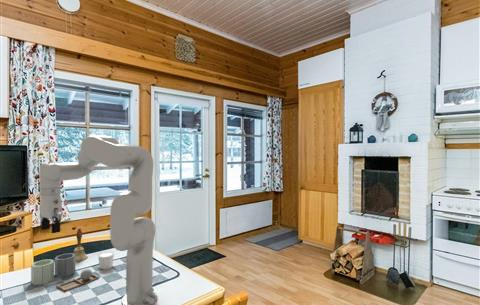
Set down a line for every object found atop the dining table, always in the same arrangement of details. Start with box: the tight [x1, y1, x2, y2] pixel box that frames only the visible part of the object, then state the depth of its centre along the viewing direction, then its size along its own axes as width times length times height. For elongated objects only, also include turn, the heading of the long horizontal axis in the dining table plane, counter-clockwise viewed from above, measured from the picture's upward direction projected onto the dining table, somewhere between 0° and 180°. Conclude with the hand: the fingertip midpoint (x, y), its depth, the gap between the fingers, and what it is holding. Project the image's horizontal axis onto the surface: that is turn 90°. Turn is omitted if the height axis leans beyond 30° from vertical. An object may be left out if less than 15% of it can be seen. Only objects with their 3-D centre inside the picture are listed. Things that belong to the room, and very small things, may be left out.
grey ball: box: [80, 268, 93, 280], centre depth 121 cm, size 4×4×4 cm
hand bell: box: [73, 228, 89, 263], centre depth 147 cm, size 8×8×16 cm
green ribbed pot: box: [30, 259, 55, 286], centre depth 120 cm, size 8×8×9 cm
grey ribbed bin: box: [54, 252, 76, 278], centre depth 127 cm, size 8×8×9 cm
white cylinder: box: [98, 251, 114, 270], centre depth 134 cm, size 7×7×7 cm
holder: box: [56, 273, 100, 293], centre depth 118 cm, size 7×14×2 cm, turn 146°
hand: (50, 230), depth 120 cm, fingers open, 9 cm apart
